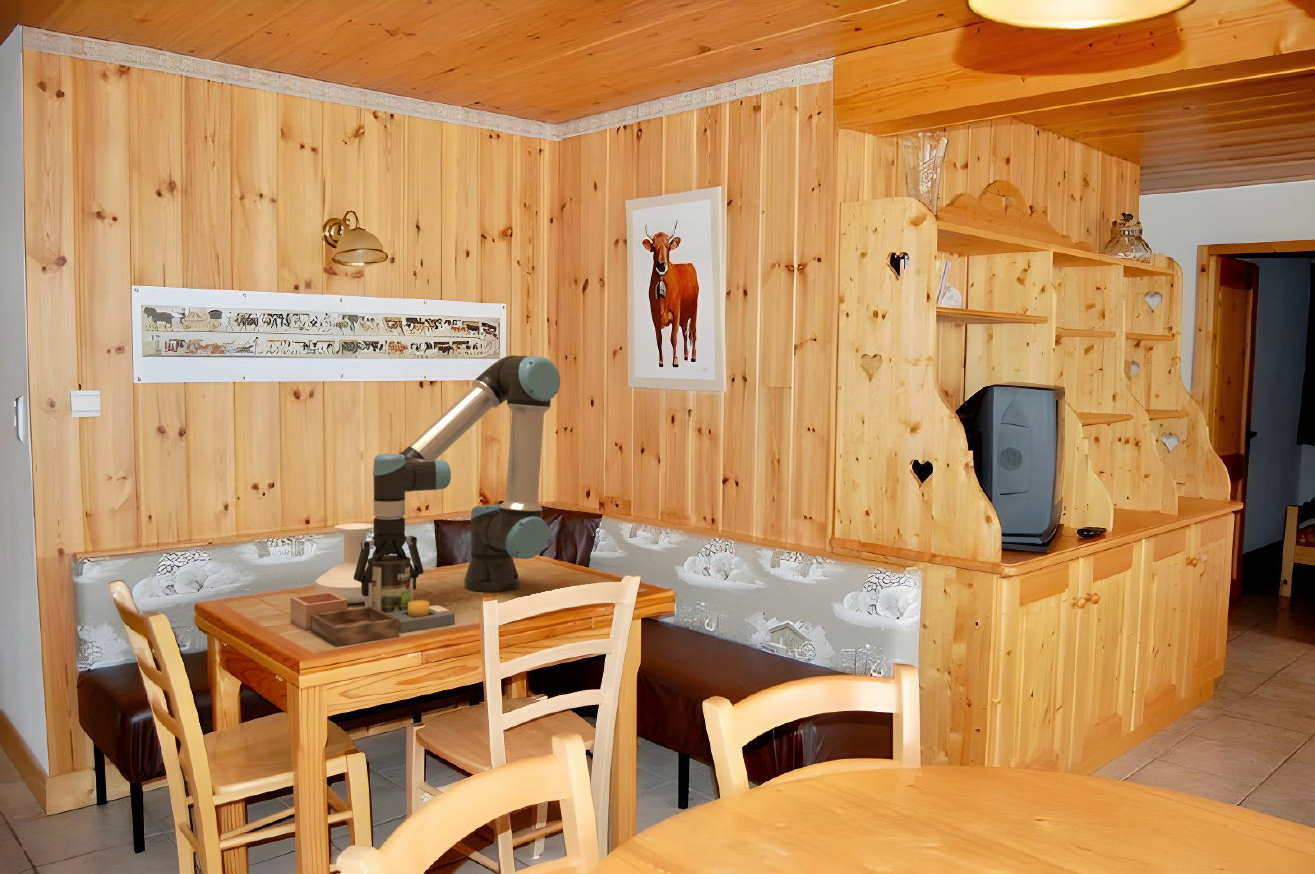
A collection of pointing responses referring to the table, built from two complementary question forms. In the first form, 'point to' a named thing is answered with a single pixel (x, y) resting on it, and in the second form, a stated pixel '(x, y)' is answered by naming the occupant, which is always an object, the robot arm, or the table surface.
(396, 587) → the coffee can
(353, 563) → the candle holder
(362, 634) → the dark wooden tray
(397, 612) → the base
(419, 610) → the button
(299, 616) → the terracotta square planter
